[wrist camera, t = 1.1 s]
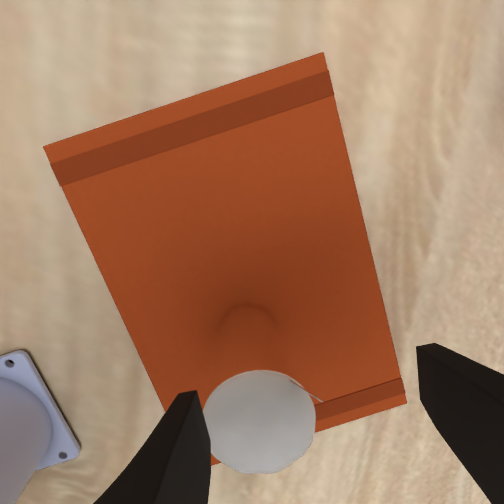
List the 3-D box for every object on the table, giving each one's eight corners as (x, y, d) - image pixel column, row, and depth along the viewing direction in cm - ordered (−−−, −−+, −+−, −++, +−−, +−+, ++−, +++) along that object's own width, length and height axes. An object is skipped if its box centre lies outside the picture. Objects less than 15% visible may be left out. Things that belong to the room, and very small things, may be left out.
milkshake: (308, 309, 23) (370, 430, 13) (255, 375, 24) (276, 532, 14) (247, 268, 22) (265, 365, 12) (194, 337, 23) (172, 479, 13)
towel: (193, 468, 25) (192, 472, 25) (45, 146, 19) (41, 146, 19) (405, 400, 25) (407, 403, 25) (322, 53, 19) (323, 51, 19)
